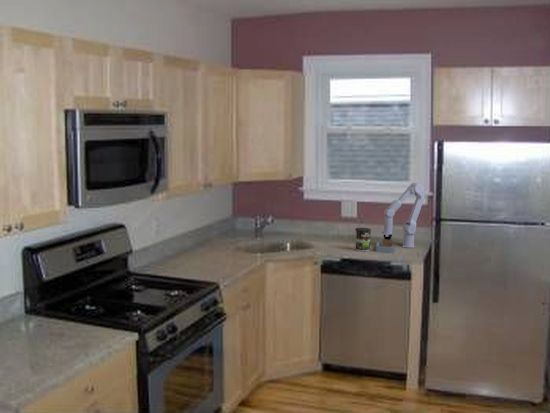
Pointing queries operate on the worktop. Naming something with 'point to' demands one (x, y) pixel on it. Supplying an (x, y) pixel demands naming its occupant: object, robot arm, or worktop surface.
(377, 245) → the cleat wall
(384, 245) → the cabinet block
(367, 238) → the coffee can
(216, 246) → the worktop surface
